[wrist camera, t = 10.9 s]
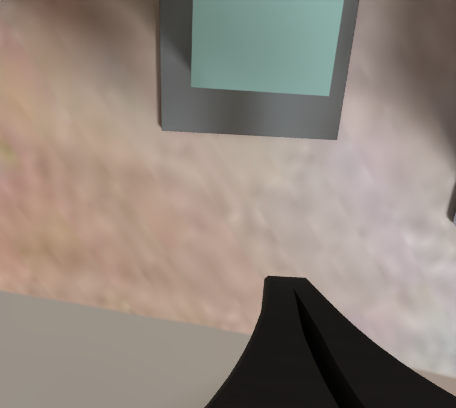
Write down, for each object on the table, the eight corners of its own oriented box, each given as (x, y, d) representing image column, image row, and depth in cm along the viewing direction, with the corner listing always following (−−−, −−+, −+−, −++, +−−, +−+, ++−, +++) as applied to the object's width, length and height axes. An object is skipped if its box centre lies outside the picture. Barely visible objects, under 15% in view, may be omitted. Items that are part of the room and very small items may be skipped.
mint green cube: (313, -19, 16) (355, -73, 11) (299, 92, 18) (328, 96, 13) (208, -26, 16) (194, -84, 11) (204, 86, 18) (190, 87, 13)
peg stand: (367, -71, 16) (429, -143, 11) (334, 138, 19) (370, 157, 14) (159, -82, 16) (125, -159, 11) (163, 129, 19) (137, 145, 14)
